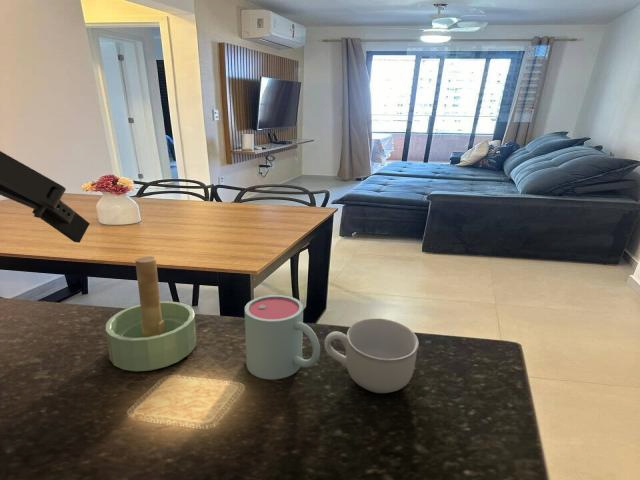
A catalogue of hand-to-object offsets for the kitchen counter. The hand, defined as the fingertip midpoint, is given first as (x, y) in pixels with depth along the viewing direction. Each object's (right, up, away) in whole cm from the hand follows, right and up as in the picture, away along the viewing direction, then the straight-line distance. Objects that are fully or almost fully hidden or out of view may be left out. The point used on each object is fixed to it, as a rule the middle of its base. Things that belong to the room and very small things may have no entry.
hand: (36, 228), depth 48 cm
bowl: (+7, -21, +18) cm, 28 cm away
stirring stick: (+7, -20, +18) cm, 28 cm away
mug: (+30, -22, +14) cm, 40 cm away
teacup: (+43, -24, +12) cm, 51 cm away
